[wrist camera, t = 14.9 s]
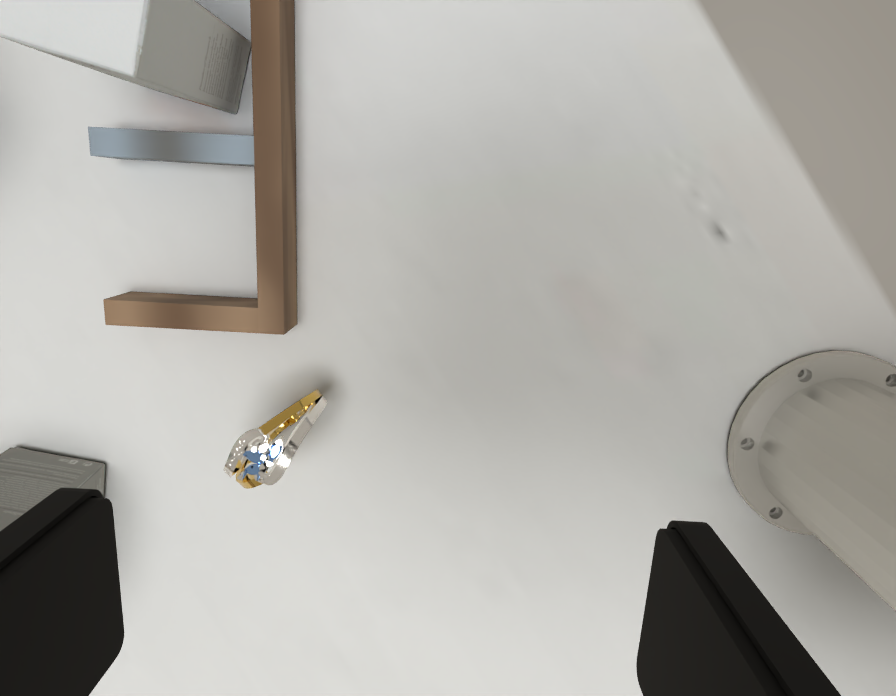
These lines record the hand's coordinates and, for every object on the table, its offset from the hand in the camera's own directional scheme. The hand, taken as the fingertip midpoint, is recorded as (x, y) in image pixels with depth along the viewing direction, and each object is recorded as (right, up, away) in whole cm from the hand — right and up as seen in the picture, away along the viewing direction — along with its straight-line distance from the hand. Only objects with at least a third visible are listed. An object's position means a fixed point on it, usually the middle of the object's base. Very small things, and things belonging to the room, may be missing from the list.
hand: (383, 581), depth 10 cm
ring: (-9, 0, +30) cm, 31 cm away
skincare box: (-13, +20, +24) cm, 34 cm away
